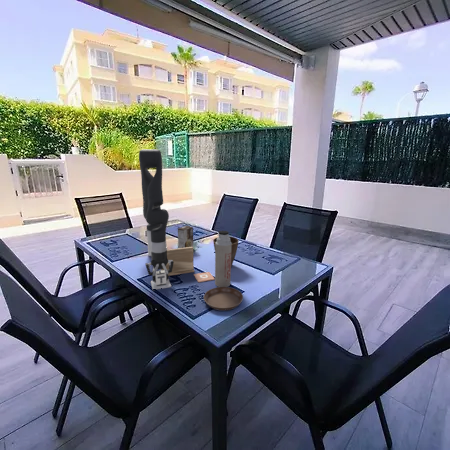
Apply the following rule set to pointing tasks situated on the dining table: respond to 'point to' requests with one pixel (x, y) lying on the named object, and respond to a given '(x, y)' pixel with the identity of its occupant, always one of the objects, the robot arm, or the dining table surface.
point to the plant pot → (233, 247)
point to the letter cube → (160, 277)
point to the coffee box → (185, 237)
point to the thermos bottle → (223, 260)
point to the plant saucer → (223, 298)
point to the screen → (180, 260)
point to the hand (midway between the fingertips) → (160, 280)
